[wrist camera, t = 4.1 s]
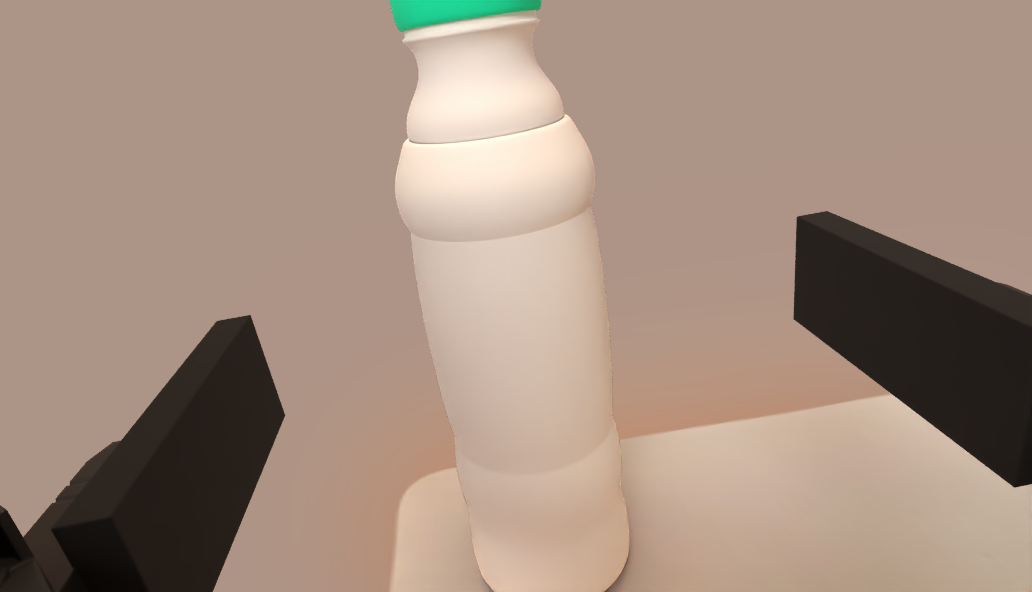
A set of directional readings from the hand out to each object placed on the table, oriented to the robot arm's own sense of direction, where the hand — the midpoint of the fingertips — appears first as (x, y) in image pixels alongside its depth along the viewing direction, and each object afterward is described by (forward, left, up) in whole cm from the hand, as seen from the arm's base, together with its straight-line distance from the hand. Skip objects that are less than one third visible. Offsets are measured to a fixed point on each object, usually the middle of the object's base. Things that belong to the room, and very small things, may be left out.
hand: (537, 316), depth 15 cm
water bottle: (0, +8, -16) cm, 18 cm away
